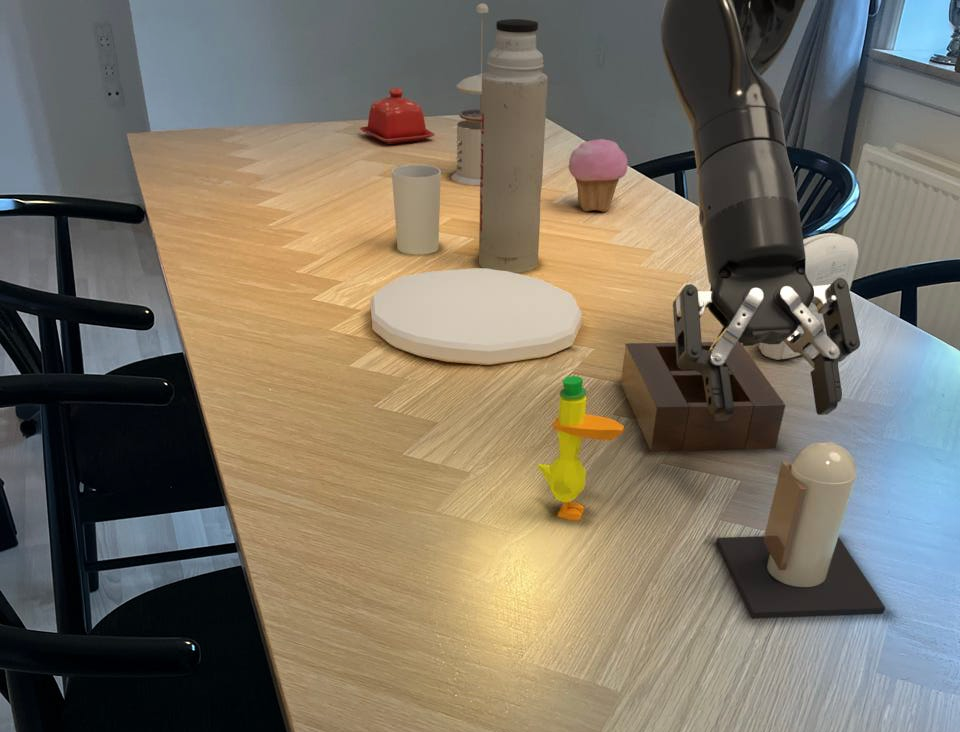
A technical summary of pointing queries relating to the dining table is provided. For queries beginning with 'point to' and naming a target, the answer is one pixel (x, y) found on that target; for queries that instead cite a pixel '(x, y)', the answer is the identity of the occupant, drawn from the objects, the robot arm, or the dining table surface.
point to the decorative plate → (475, 316)
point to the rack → (698, 402)
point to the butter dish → (396, 120)
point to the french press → (470, 127)
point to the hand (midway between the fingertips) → (777, 414)
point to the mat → (776, 599)
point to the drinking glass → (417, 208)
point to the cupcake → (597, 172)
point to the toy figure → (574, 446)
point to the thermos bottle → (512, 149)
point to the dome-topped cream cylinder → (808, 513)
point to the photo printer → (821, 276)
